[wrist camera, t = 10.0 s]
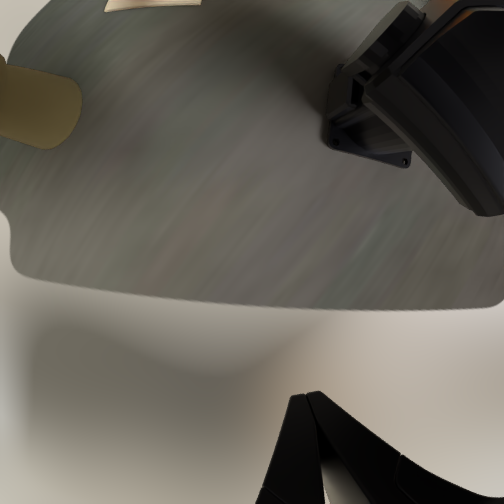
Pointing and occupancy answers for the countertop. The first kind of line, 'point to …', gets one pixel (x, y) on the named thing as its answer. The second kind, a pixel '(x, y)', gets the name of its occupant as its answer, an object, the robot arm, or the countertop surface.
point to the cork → (37, 106)
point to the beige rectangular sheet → (146, 4)
